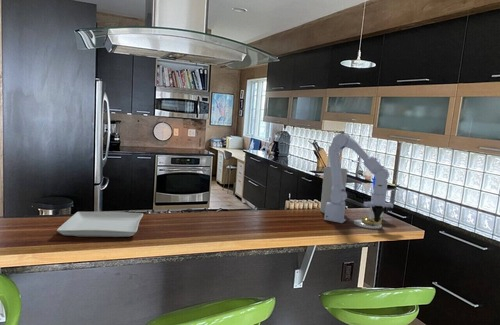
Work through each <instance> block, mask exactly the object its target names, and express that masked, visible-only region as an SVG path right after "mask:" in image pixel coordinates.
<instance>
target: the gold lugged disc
mask: <svg viewBox="0 0 500 325" xmlns="http://www.w3.org/2000/svg"><path fill="white" fill-rule="evenodd" d="M361 220H362V222H363V223H366V224H378V225H382V220H383V219H382V217H379V222H375V221H374V218H373V217H371V218H369V217H368V216H366V215H365V216H362V218H361Z"/></svg>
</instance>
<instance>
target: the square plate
mask: <svg viewBox="0 0 500 325" xmlns="http://www.w3.org/2000/svg"><path fill="white" fill-rule="evenodd" d="M143 217H144V213H141V212H124V211H122V212H121V211H77V212H75V213H74V214H73V215H72V216H70V217H69V218H68V219H67V220H66V221H65V222H64V223H62V225H59V227H58V228H57V229H56V231H57V232H58V233H59V234H60V235H63V236H73V237H91V238H92V237H93V238H94V237H95V238H97V237H98V238H99V237H103V238H105V237H108V238H111V237H113V238H118V237H119V238H120V237H121V238H124V237H131V236H134V235H135V234H136V233H137V232H138V228H139V226H140V222H141V221H142V218H143Z"/></svg>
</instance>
